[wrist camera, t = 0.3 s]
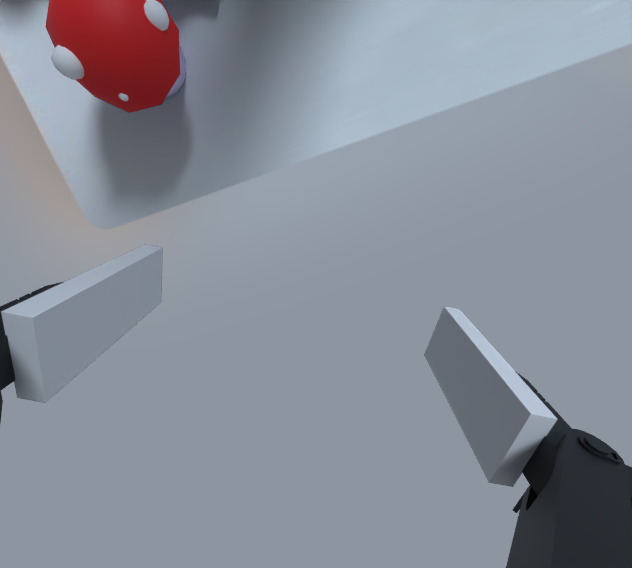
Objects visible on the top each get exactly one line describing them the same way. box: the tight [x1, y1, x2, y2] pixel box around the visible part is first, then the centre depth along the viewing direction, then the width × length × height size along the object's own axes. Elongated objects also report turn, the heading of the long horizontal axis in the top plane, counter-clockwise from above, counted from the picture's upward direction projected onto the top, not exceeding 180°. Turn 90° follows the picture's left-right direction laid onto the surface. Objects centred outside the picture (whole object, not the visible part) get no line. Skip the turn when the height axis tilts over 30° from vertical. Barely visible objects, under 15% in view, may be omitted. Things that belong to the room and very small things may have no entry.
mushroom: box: [46, 0, 186, 113], centre depth 29 cm, size 11×11×12 cm
